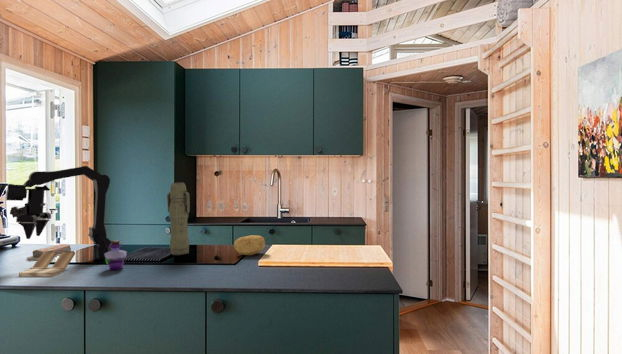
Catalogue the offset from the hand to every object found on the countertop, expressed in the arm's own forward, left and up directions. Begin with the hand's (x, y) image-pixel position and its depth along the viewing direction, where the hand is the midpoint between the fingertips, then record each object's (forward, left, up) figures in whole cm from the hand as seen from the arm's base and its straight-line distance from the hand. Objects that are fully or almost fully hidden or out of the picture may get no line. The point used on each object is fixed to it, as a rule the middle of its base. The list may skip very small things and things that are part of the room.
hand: (33, 237), depth 175 cm
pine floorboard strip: (-9, +8, -14) cm, 18 cm away
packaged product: (+10, -25, -14) cm, 30 cm away
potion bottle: (-36, -1, -14) cm, 38 cm away
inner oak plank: (-13, 0, -11) cm, 17 cm away
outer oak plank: (-5, 0, -11) cm, 11 cm away
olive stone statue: (-52, -31, -14) cm, 62 cm away
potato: (-88, -28, -14) cm, 93 cm away
